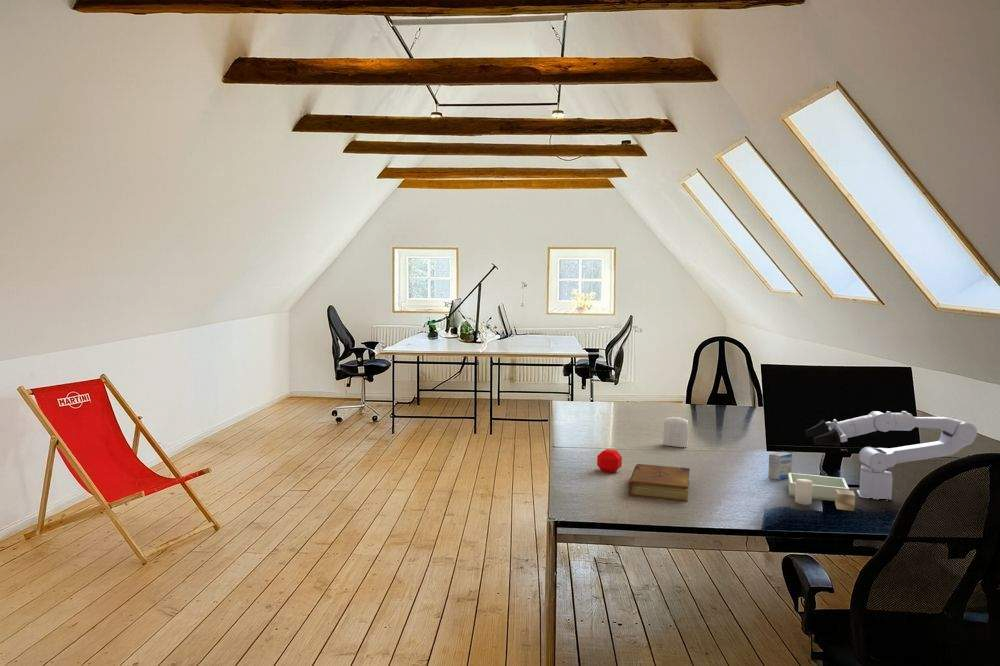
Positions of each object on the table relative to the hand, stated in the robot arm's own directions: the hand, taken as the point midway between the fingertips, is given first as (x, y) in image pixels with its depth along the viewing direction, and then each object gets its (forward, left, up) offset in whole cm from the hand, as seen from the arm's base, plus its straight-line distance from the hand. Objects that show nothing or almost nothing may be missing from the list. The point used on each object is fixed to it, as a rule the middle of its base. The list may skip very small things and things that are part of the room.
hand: (810, 437), depth 245 cm
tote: (-3, -1, -19) cm, 19 cm away
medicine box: (+8, -18, -19) cm, 27 cm away
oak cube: (-10, +12, -19) cm, 25 cm away
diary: (+47, +14, -20) cm, 53 cm away
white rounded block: (+48, -53, -19) cm, 74 cm away
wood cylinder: (+2, +11, -19) cm, 22 cm away
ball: (+67, -2, -19) cm, 70 cm away
